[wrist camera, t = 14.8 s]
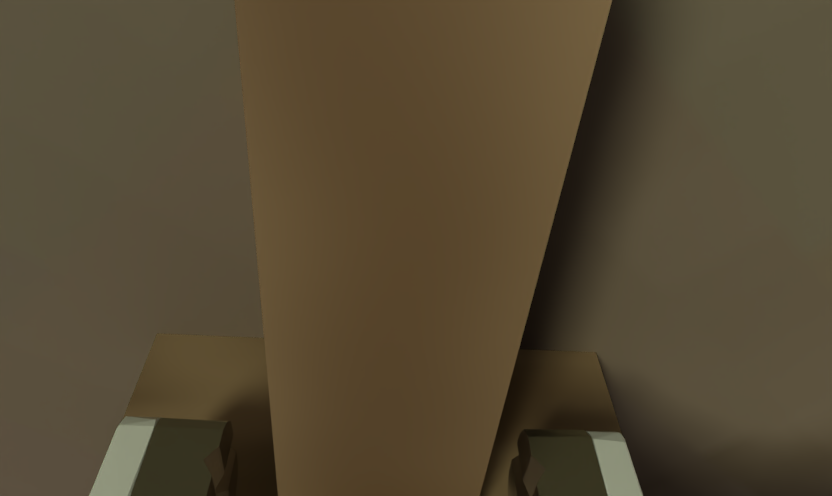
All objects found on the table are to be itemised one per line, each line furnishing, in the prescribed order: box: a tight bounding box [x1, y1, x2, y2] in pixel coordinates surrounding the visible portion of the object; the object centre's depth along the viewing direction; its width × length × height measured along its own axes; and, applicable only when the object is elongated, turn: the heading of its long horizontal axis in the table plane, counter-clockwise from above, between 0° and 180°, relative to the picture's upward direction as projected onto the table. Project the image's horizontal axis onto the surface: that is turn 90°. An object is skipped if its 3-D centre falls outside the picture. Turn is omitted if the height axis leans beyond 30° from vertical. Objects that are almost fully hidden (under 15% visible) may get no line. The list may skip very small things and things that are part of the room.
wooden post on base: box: [123, 0, 622, 496], centre depth 9 cm, size 9×11×5 cm
